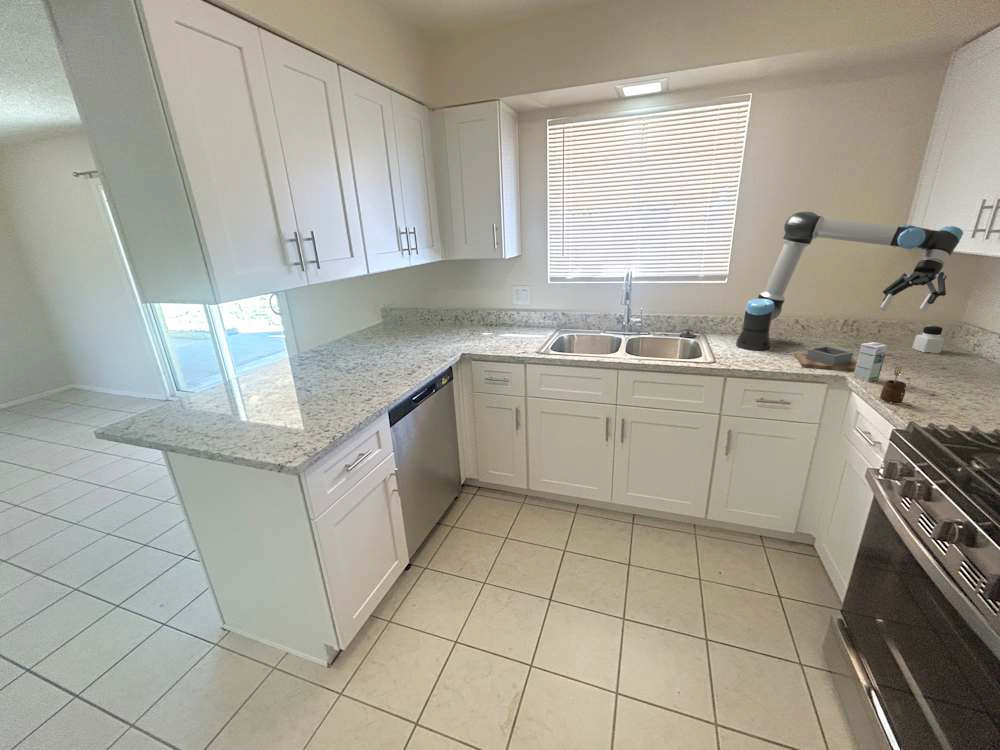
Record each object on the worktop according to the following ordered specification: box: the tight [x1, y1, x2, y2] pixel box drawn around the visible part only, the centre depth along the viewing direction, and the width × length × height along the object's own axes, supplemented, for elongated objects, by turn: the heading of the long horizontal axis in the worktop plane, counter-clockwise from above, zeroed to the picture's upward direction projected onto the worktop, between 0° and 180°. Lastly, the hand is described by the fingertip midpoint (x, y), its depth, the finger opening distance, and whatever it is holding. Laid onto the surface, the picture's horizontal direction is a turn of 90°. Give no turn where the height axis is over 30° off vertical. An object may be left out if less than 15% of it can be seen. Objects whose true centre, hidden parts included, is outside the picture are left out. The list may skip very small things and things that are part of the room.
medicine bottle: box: [911, 325, 946, 354], centre depth 195 cm, size 7×7×12 cm
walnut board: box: [793, 352, 857, 372], centre depth 185 cm, size 22×17×2 cm
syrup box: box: [853, 341, 888, 382], centre depth 165 cm, size 6×6×14 cm
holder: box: [806, 345, 854, 366], centre depth 184 cm, size 12×12×4 cm
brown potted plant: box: [879, 365, 907, 404], centre depth 145 cm, size 6×6×12 cm
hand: (901, 309), depth 168 cm, fingers open, 13 cm apart
